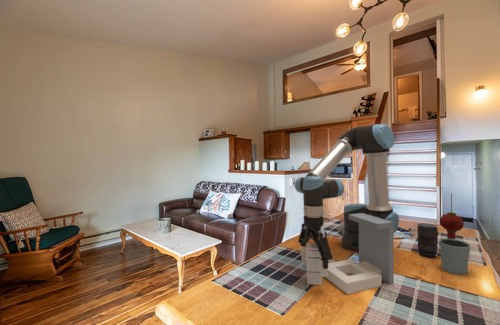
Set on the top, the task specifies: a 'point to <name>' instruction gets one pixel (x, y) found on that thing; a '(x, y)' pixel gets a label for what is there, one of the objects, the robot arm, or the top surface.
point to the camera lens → (427, 240)
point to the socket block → (367, 257)
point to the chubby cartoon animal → (341, 227)
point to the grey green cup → (454, 256)
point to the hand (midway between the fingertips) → (313, 268)
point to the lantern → (451, 223)
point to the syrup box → (313, 264)
